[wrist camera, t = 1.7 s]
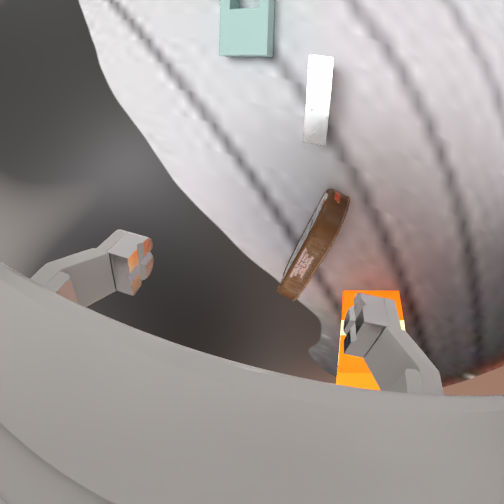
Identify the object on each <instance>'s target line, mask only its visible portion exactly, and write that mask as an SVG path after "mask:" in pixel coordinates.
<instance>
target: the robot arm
mask: <svg viewBox="0 0 504 504" xmlns="http://www.w3.org/2000/svg"><path fill="white" fill-rule="evenodd" d="M151 249H152V240H151V239H150V238H147V237H144V236H141V235H138V234H134V233H131V232H127V231H124V230H117V231H115V232H114V233H113V234H112V235H111V236H110V237H109V238H107V239H106V240H105V241H104V242H103V243H102V244H101V245H100V246H99V247H98V248H97V249H95V248H92V249H88V250H85V251H82V252H79V253H76V254H73V255H70V256H67V257H64V258H61V259H58V260H55V261H52V262H49V263H46V265H44V266H43V267H42V268H41V269H40V270H39V271H38V272H37V273H36V274H35V275H34V276H33V277H31V278H30V279H29V278H27V277H25V276H24V275H22V274H20V273H18V272H17V271H15V270H13V269H11V268H10V267H8V266H7V265H5V264H3V263H1V262H0V504H504V395H491V396H445V395H444V394H443V389H442V384H441V379H440V374H439V371H438V370H437V368H436V367H435V366H434V365H433V363H432V362H431V361H430V360H429V359H428V357H427V356H426V355H425V354H424V353H423V351H422V350H421V349H420V348H419V347H418V345H417V344H416V343H415V342H414V341H413V339H412V338H411V337H410V336H409V335H408V334H407V332H406V331H405V330H402V329H401V325H400V320H399V316H398V312H397V307H396V303H395V301H394V300H393V299H389V298H384V297H382V298H381V297H377V296H373V295H369V294H365V293H360V292H358V293H357V294H356V296H355V298H354V306H352V307H350V308H349V309H348V312H347V314H346V316H345V320H344V326H343V331H344V333H345V334H346V337H345V339H344V354H347V355H352V356H357V357H361V358H364V361H365V363H366V364H367V366H368V368H369V370H370V372H371V373H372V375H373V377H374V379H375V381H376V383H377V384H378V386H379V388H380V390H381V391H380V390H372V389H364V388H357V387H350V386H344V385H338V384H332V383H326V382H320V381H315V380H310V379H305V378H300V377H295V376H291V375H286V374H281V373H277V372H273V371H268V370H265V369H261V368H257V367H252V366H249V365H245V364H241V363H238V362H234V361H230V360H227V359H224V358H220V357H217V356H213V355H210V354H207V353H204V352H201V351H197V350H194V349H191V348H188V347H185V346H182V345H179V344H176V343H173V342H170V341H167V340H165V339H162V338H159V337H156V336H154V335H151V334H148V333H146V332H142V331H141V330H138V329H135V328H132V327H130V326H128V325H125V324H123V323H120V322H118V321H116V320H113V319H111V318H109V317H106V316H104V315H102V314H99V313H97V312H95V311H93V310H90V309H88V308H86V307H87V306H89V305H90V304H92V303H94V302H96V301H98V300H100V299H101V298H103V297H105V296H107V295H109V294H111V293H113V292H114V291H116V290H118V291H120V292H123V293H126V294H130V295H132V296H133V295H134V294H135V293H136V292H137V290H138V289H139V288H140V286H141V280H144V279H146V278H147V277H148V276H149V274H150V273H151V269H152V267H153V256H152V254H151V253H150V250H151Z"/></svg>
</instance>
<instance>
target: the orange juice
mask: <svg viewBox="0 0 504 504" xmlns="http://www.w3.org/2000/svg"><path fill="white" fill-rule="evenodd" d="M358 292H360V293H365V294H369V295H373V296H377V297H381V298H382V297H384V298H389V299H393V300H394V301H395V303H396V307H397V312H398V316H399V320H400V325H401V329H402V330H405V325H404V320H403V313H402V307H401V301H400V295H399V291H343V304H342V320H341V333H340V346H339V358H338V371H337V381H336V384H338V385H344V386H350V387H357V388H364V389H372V390H380V388H379V386H378V384H377V383H376V381H375V379H374V377H373V375H372V373H371V372H370V370H369V368H368V366H367V364H366V363H365V361H364V358H361V357H357V356H352V355H347V354H344V339H345V337H346V334H345V333H344V331H343V326H344V320H345V316H346V314H347V312H348V309H349V308H350V307H352V306H354V298H355V296H356V294H357V293H358ZM380 391H381V390H380Z"/></svg>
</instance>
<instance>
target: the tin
mask: <svg viewBox="0 0 504 504" xmlns="http://www.w3.org/2000/svg"><path fill="white" fill-rule="evenodd" d="M349 203H350V198H349V197H348V196H344V195H343V194H341V193H339V192H337V191H335V190H332V189H328V190H327V191H326V192H325V194H324V195H323V197H322V199H321V201H320V202H319V204H318V206H317V208H316V210H315V212H314V214H313V215H312V217H311V219H310V221H309V223H308V225H307V227H306V228H305V230H304V232H303V234H302V236H301V238H300V240H299V242H298V244H297V246H296V248H295V250H294V252H293V254H292V256H291V258H290V260H289V262H288V264H287V266H286V269H285V271H284V274H283V278H282V281H281V284H280V286H279V287H278V288H277V292H278V293H280V294H281V295H283V296H285V297H287V298H289V299H291V300H292V301H295V300H296V299H297V298H298V297H299V296H300V294H301V293H302V291H303V290H304V288H305V287H306V285H307V284H308V282H309V281H310V279H311V277H312V276H313V274H314V273H315V271H316V270H317V268H318V266H319V265H320V263H321V262H322V260H323V259H324V257H325V255H326V254H327V252H328V251H329V249H330V247H331V246H332V244H333V242H334V240H335V238H336V236H337V235H338V232H339V230H340V228H341V226H342V224H343V221H344V219H345V216H346V213H347V210H348V207H349Z"/></svg>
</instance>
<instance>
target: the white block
mask: <svg viewBox="0 0 504 504" xmlns="http://www.w3.org/2000/svg"><path fill="white" fill-rule="evenodd" d="M333 58H334V57H327V56H319V55H310V54H309V64H308V81H307V95H306V109H305V122H304V133H303V143H310V144H317V145H324V146H326V137H327V128H328V119H329V109H330V98H331V86H332V73H333Z"/></svg>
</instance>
